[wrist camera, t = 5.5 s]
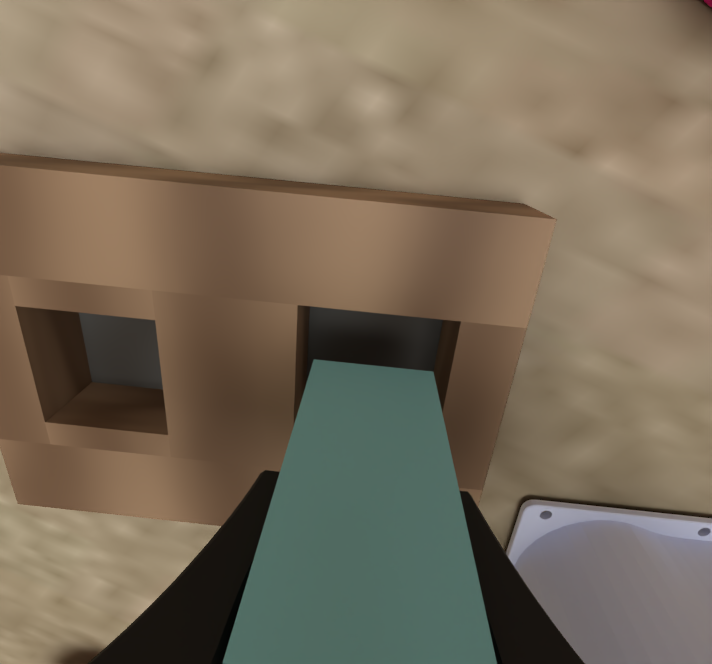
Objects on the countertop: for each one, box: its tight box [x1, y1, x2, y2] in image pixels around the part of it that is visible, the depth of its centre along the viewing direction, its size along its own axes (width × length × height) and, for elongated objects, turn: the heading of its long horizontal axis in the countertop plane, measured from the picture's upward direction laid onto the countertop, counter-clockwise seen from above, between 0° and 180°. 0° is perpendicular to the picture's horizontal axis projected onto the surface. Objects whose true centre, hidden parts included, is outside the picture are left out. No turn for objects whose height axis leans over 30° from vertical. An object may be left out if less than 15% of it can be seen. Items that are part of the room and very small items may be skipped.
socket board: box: [0, 153, 557, 526], centre depth 16 cm, size 18×13×3 cm
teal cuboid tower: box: [222, 359, 497, 664], centre depth 10 cm, size 4×5×8 cm
